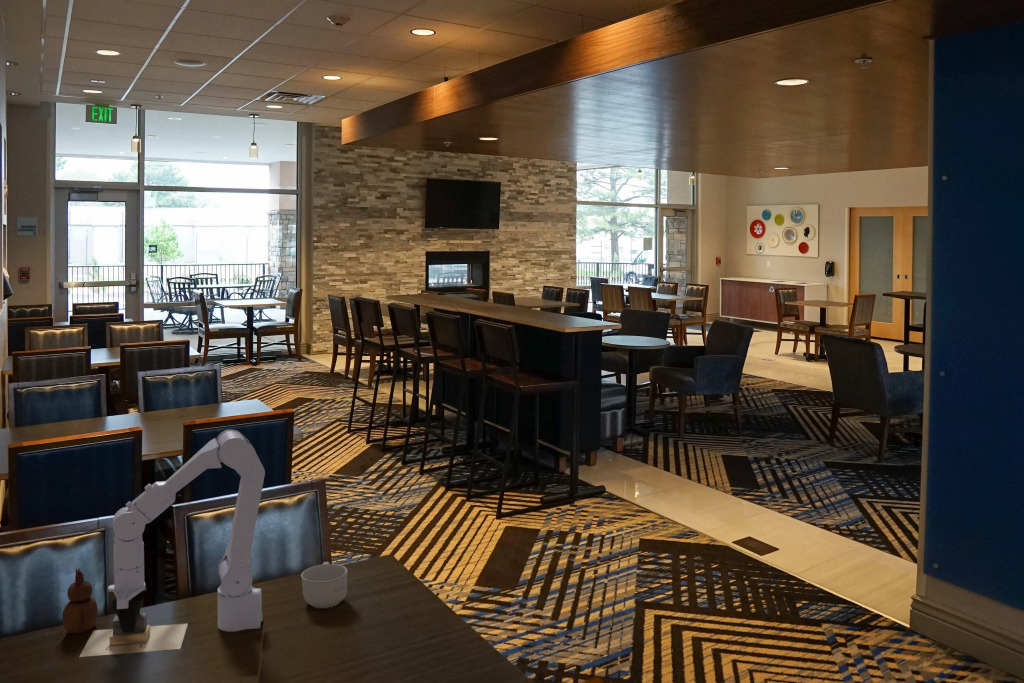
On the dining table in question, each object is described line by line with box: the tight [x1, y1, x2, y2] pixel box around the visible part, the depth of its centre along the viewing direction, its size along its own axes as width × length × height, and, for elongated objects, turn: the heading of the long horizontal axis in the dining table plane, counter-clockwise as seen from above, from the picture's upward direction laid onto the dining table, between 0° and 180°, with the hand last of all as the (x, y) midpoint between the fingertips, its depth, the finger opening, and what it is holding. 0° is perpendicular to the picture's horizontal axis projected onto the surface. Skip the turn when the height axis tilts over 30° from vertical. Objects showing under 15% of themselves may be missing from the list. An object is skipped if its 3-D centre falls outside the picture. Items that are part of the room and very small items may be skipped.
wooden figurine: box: [62, 568, 99, 634], centre depth 176 cm, size 7×6×15 cm
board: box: [78, 623, 189, 658], centre depth 173 cm, size 19×12×1 cm, turn 104°
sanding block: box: [109, 612, 151, 646], centre depth 172 cm, size 7×4×5 cm, turn 104°
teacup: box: [300, 561, 349, 609], centre depth 198 cm, size 14×11×8 cm
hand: (130, 627), depth 172 cm, fingers closed on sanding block, 3 cm apart
